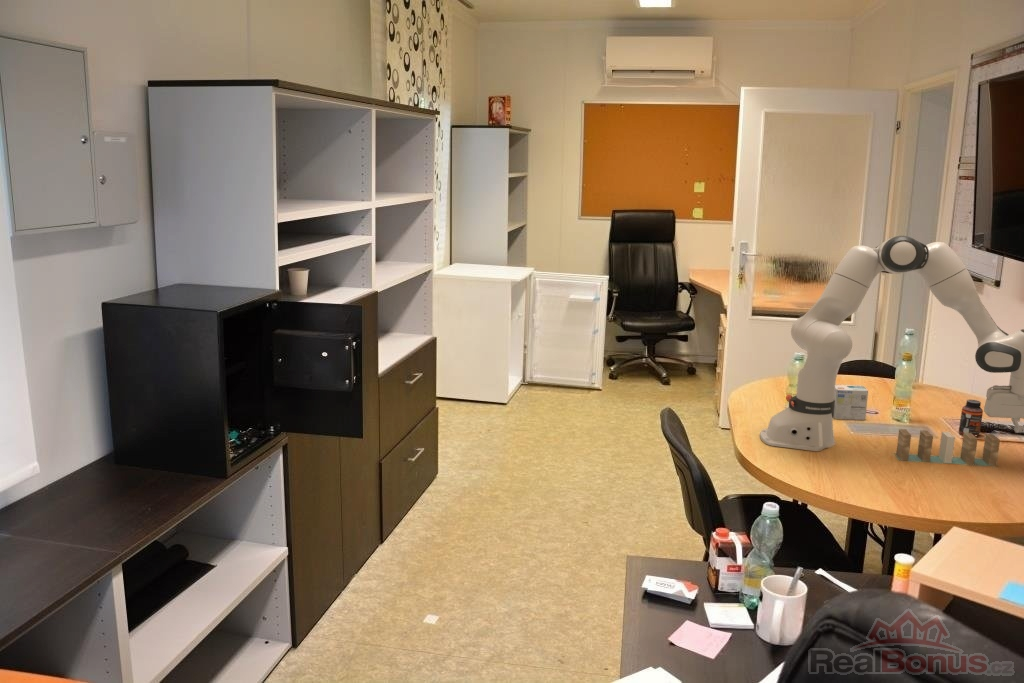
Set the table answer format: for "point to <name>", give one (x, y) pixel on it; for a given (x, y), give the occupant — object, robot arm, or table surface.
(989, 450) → the domino
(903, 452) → the domino
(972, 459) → the domino
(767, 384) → the table surface
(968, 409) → the supplement bottle
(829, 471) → the table surface
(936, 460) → the felt runner
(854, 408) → the light bulb box
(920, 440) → the domino
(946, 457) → the domino
